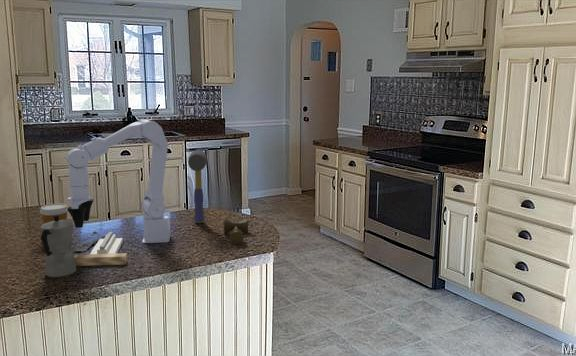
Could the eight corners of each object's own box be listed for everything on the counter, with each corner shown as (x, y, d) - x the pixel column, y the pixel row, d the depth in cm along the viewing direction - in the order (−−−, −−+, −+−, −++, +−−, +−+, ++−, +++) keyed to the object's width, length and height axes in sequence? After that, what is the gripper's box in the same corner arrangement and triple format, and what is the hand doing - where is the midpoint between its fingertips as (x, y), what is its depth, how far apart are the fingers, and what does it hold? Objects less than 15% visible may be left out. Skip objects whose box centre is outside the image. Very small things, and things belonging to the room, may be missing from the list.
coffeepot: (56, 263, 156) (51, 209, 152) (85, 263, 155) (81, 209, 152) (30, 283, 140) (24, 223, 137) (62, 283, 140) (57, 223, 137)
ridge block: (123, 241, 176) (122, 231, 176) (115, 257, 161) (114, 246, 160) (100, 242, 175) (99, 232, 174) (89, 258, 160) (88, 247, 159)
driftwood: (84, 254, 165) (84, 248, 165) (65, 253, 166) (65, 247, 165) (111, 236, 185) (110, 230, 185) (93, 235, 186) (93, 230, 185)
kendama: (223, 246, 175) (223, 228, 194) (250, 246, 176) (247, 228, 195) (223, 230, 173) (223, 214, 193) (250, 230, 175) (247, 214, 194)
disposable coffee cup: (55, 232, 186) (52, 202, 184) (76, 235, 183) (73, 204, 181) (36, 240, 177) (33, 208, 175) (58, 243, 174) (55, 210, 172)
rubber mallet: (207, 226, 195) (206, 153, 190) (189, 227, 195) (186, 153, 189) (208, 218, 208) (207, 148, 202) (191, 218, 207) (189, 148, 201)
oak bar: (127, 261, 158) (126, 253, 158) (125, 265, 156) (124, 256, 155) (76, 263, 156) (75, 254, 156) (73, 267, 154) (72, 258, 153)
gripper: (72, 180, 168) (75, 218, 171) (59, 190, 154) (63, 230, 157) (94, 180, 169) (96, 217, 172) (83, 189, 155) (86, 230, 158)
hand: (82, 224), depth 165 cm, fingers open, 7 cm apart
